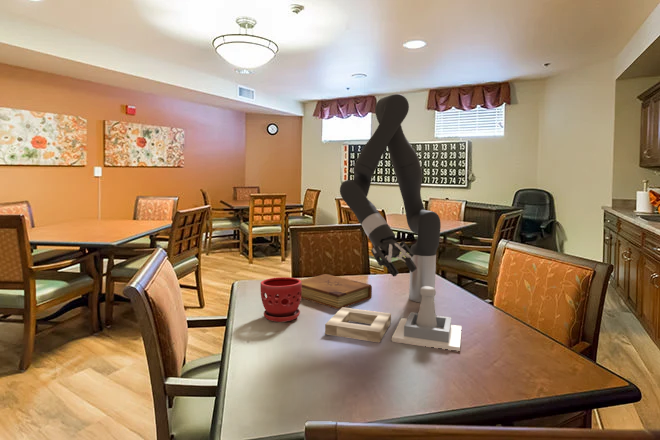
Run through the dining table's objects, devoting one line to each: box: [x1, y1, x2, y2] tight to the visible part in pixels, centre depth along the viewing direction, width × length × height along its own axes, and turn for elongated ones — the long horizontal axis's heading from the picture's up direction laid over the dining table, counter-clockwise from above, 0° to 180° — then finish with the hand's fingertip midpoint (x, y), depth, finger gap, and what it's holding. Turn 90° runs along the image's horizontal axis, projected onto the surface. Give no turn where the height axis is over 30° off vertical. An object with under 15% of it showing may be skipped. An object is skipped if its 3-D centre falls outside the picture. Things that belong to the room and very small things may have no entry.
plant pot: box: [260, 276, 302, 323], centre depth 130 cm, size 13×13×12 cm
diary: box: [301, 273, 373, 310], centre depth 153 cm, size 23×19×6 cm
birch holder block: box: [324, 307, 392, 343], centre depth 121 cm, size 16×16×3 cm
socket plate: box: [391, 311, 463, 352], centre depth 117 cm, size 16×18×4 cm
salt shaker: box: [416, 286, 437, 328], centre depth 116 cm, size 6×6×13 cm
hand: (405, 272), depth 122 cm, fingers open, 8 cm apart
